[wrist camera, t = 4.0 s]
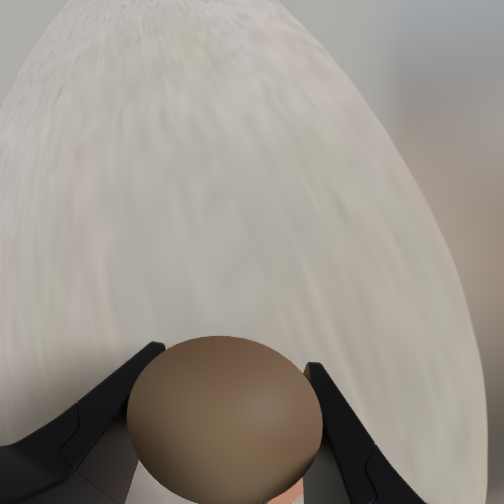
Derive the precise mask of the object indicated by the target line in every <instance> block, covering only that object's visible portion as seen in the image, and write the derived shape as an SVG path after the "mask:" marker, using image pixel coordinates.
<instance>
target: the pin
mask: <svg viewBox="0 0 504 504" xmlns="http://www.w3.org/2000/svg"><path fill="white" fill-rule="evenodd" d="M127 427H128V432H129V437H130V440H131V443H132V446H133V448H134V450H135V452H136V454H137V456H138V458H139V460H140V461H141V463H142V464H143V466H144V467H145V468H146V470H147V471H148V472H149V473H150V474H151V475H152V476H153V477H154V478H155V479H156V480H157V481H158V482H159V483H160V484H161V485H163V486H164V487H166V488H167V489H168V490H170V491H171V492H173V493H175V494H177V495H178V496H180V497H182V498H185V499H187V500H190V501H192V502H195V503H198V504H260V503H263V502H266V501H268V500H271V499H273V498H275V497H277V496H279V495H281V494H282V493H284V492H286V491H287V490H289V489H290V488H291V487H292V486H294V485H295V484H296V483H297V482H298V481H299V480H300V479H301V478H302V477H303V476H304V475H305V473H306V472H307V471H308V469H309V468H310V467H311V465H312V463H313V461H314V459H315V458H316V455H317V453H318V450H319V447H320V443H321V438H322V427H323V423H322V413H321V409H320V405H319V401H318V399H317V396H316V394H315V391H314V389H313V388H312V386H311V384H310V383H309V381H308V380H307V378H306V377H305V376H304V375H303V373H302V372H301V371H300V370H299V369H298V368H297V367H296V366H295V365H294V364H293V363H292V362H291V361H290V360H288V359H287V358H285V357H284V356H283V355H281V354H280V353H278V352H276V351H275V350H273V349H271V348H269V347H267V346H265V345H262V344H260V343H257V342H254V341H250V340H247V339H243V338H237V337H230V336H209V337H201V338H196V339H191V340H188V341H185V342H182V343H179V344H177V345H175V346H173V347H171V348H169V349H167V350H165V351H164V352H162V353H161V354H160V355H158V356H157V357H156V358H154V359H153V360H152V361H151V362H150V363H149V364H148V365H147V366H146V367H145V369H144V370H143V371H142V372H141V374H140V375H139V377H138V379H137V380H136V382H135V384H134V386H133V389H132V391H131V394H130V398H129V402H128V408H127Z"/></svg>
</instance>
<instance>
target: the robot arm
mask: <svg viewBox="0 0 504 504" xmlns="http://www.w3.org/2000/svg"><path fill="white" fill-rule="evenodd" d="M165 350H166V348H165V345H164V344H163V343H160V342H155V341H152V342H150V343H149V344H148V345H147V346H145V347H144V348H143V349H142V350H140V351H139V352H138V353H137V354H136V355H134V356H133V357H132V358H131V359H129V360H128V361H127V362H126V363H124V364H123V365H122V366H121V367H120V368H118V369H117V370H116V371H115V372H113V373H112V374H111V375H110V376H108V377H107V378H106V379H105V380H104V381H102V382H101V383H100V384H99V385H97V386H96V387H95V388H94V389H92V390H91V391H90V392H89V393H87V394H86V395H85V396H84V397H83V398H81V399H80V400H79V401H78V402H77V403H75V404H74V405H72V406H71V407H70V408H69V409H67V410H66V411H65V412H63V413H62V414H61V415H60V416H58V417H57V418H55V419H54V420H52V421H51V422H49V423H48V424H46V425H45V426H43V427H41V428H40V429H38V430H36V431H35V432H33V433H32V434H30V435H28V436H27V437H25V438H23V439H22V440H20V441H18V442H16V443H13V444H10V445H6V446H0V504H125V501H126V498H127V494H128V491H129V488H130V485H131V482H132V479H133V476H134V473H135V470H136V467H137V464H138V461H139V458H138V456H137V454H136V452H135V450H134V448H133V446H132V443H131V440H130V437H129V432H128V427H127V408H128V402H129V398H130V394H131V391H132V389H133V386H134V384H135V382H136V380H137V379H138V377H139V375H140V374H141V372H142V371H143V370H144V369H145V367H146V366H147V365H148V364H149V363H150V362H151V361H152V360H153V359H154V358H156V357H157V356H158V355H160V354H161V353H162V352H164V351H165ZM303 375H304V376H305V377H306V378H307V380H308V381H309V383H310V384H311V386H312V388H313V389H314V391H315V394H316V396H317V399H318V401H319V405H320V409H321V413H322V423H323V427H322V438H321V443H320V447H319V450H318V453H317V455H316V458H315V459H314V461H313V463H312V465H311V467H310V468H309V469H308V471H307V472H306V473H305V475H304V476H303V493H304V504H427V503H425V502H424V501H423V500H422V499H421V498H420V497H419V496H418V495H417V494H416V493H415V492H414V490H413V489H412V488H411V487H410V486H409V485H408V484H407V483H406V482H405V481H404V479H403V478H402V477H401V476H400V475H399V474H398V473H397V472H396V470H395V469H394V468H393V467H392V466H391V464H390V463H389V462H388V460H387V459H386V458H385V456H384V455H383V453H382V452H381V451H380V449H379V448H378V446H377V445H376V444H375V442H374V441H373V439H372V438H371V436H370V435H369V433H368V432H367V430H366V429H365V427H364V426H363V424H362V423H361V421H360V420H359V418H358V417H357V416H356V414H355V413H354V411H353V410H352V408H351V407H350V405H349V404H348V402H347V401H346V399H345V398H344V396H343V395H342V393H341V392H340V391H339V389H338V388H337V386H336V385H335V383H334V382H333V380H332V379H331V377H330V376H329V374H328V373H327V371H326V370H325V368H324V367H323V365H322V364H321V363H319V362H308V363H307V365H306V367H305V370H304V373H303Z"/></svg>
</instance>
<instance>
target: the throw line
mask: <svg viewBox="0 0 504 504" xmlns="http://www.w3.org/2000/svg"><path fill="white" fill-rule="evenodd" d="M301 494H303V477H302V478H301V479H300V480H299V481H298V482H297V483H296V484H295V485H294V486H292V487H291V488H290V489H289V490H287V491H286V492H284V493H282V494H281V495H279V496H277V497H275V498H273V499H271V500H268V501H267V502H265V503H264V504H291V503H292V502H293V501H294V500H295V499H297V498H298V497H299V496H300V495H301Z"/></svg>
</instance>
